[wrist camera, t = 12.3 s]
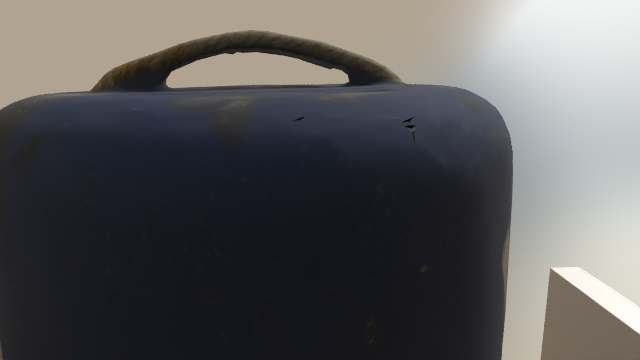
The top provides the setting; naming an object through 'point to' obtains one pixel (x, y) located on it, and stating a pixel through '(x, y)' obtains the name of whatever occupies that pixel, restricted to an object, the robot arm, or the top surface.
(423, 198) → the dark blue canister
